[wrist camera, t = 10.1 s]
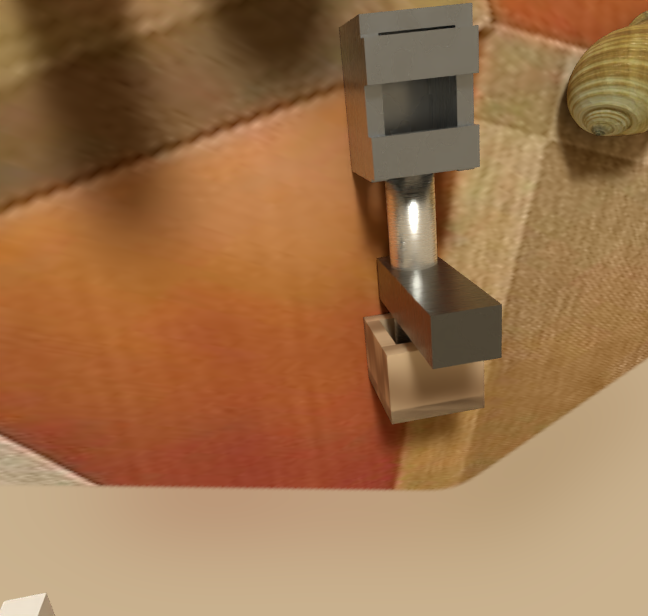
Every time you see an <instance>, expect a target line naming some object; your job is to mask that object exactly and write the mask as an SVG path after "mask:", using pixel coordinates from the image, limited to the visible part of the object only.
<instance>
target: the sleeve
mask: <svg viewBox="0 0 648 616" xmlns="http://www.w3.org/2000/svg"><path fill="white" fill-rule="evenodd" d="M339 32H340V43H341V54H342V65H343V77H344V88H345V99H346V111H347V122H348V133H349V145H350V156H351V167H352V171H353V172H354V173H356V174H358V175H360V176H361V177H363V178H365V179H366V180H368V181H370V182H379V181H387V180H388V179H393V178H400V177H408V176H415V175H423V174H430V173H438V172H445V171H452V170H457V171H462V170H469V169H474V168H475V167H480V154H479V125H478V124H474V105H473V73H479V45H478V25H475V26H473V25H472V3H466V4H456V5H446V6H437V7H427V8H417V9H407V10H397V11H388V12H378V13H368V14H359V15H357V16H356V17H354V18H353V19H351V20H350V21H348V22H347V23H345V24H344V25H342V26H341V27H339Z"/></svg>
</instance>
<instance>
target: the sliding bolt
mask: <svg viewBox="0 0 648 616" xmlns="http://www.w3.org/2000/svg"><path fill="white" fill-rule="evenodd" d="M385 189H386V204H387V219H388V233H389V248H390V256H387V257H380V258H377V267H378V280H379V293H380V300H381V301H382V302H383V304H384V305H385V306H386V308H387V309H388V310H389V312H390V313H391V314H392V316H393V317H394V321H395V336H396V344H403V343H409V342H413V344H414V345H415V346H416V348H417V349H418V350H419V352H420V353H421V354H422V356H423V357H424V358H425V360H426V361H427V362H428V364H429V365H430V366H431V368H432V369H438V368H443V367H449V366H455V365H461V364H467V363H473V362H478V361H484V360H490V359H496V358H501V341H502V304H500V303H499V302H498V301H496V300H495V299H494V298H492V297H491V296H490V295H488V294H487V293H486V292H484V291H483V290H482V289H480V288H479V287H478V286H477V285H475V284H474V283H473V282H471V281H470V280H469V279H467V278H466V277H465V276H463V275H462V274H461V273H459V272H458V271H457V270H455V269H454V268H453V267H451V266H450V265H449V264H447V263H446V262H445V261H443V260H442V259H441V258H439V257H438V256H437V235H436V208H435V182H434V173H430V174H423V175H415V176H408V177H400V178H393V179H388V180H387V181H385Z"/></svg>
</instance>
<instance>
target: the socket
mask: <svg viewBox="0 0 648 616" xmlns="http://www.w3.org/2000/svg"><path fill="white" fill-rule="evenodd" d="M363 318H364V329H365V340H366V351H367V362H368V373H369V379H370V381H371V383H372V385H373V387H374V389H375V391H376V393H377V395H378V397H379V399H380V401H381V403H382V405H383V407H384V409H385V411H386V413H387V415H388V417H389V419H390V421H391V423H392V424H396V423H402V422H407V421H413V420H418V419H424V418H429V417H435V416H441V415H446V414H452V413H457V412H463V411H468V410H474V409H479V408H484V361H478V362H473V363H467V364H461V365H455V366H449V367H443V368H438V369H432V368H431V366H430V365H429V364H428V362H427V361H426V360H425V358H424V357H423V356H422V354H421V353H420V352H419V350H418V349H417V348H416V346H415V345H414V344H413V342H409V343H403V344H396V336H395V321H394V317H393V316H392V314H391V313H388V314H382V315H375V316H369V317H363Z"/></svg>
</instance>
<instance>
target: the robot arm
mask: <svg viewBox="0 0 648 616" xmlns="http://www.w3.org/2000/svg"><path fill="white" fill-rule="evenodd" d="M0 616H55V614H54V612H53V609H52V606H51V604H50V601H49V598H48V596H47V593H43V594H37V595H32V596H27V597H22V598H17V599H12V600H7V601H4V603H3V605H2V607H1V610H0Z"/></svg>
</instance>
